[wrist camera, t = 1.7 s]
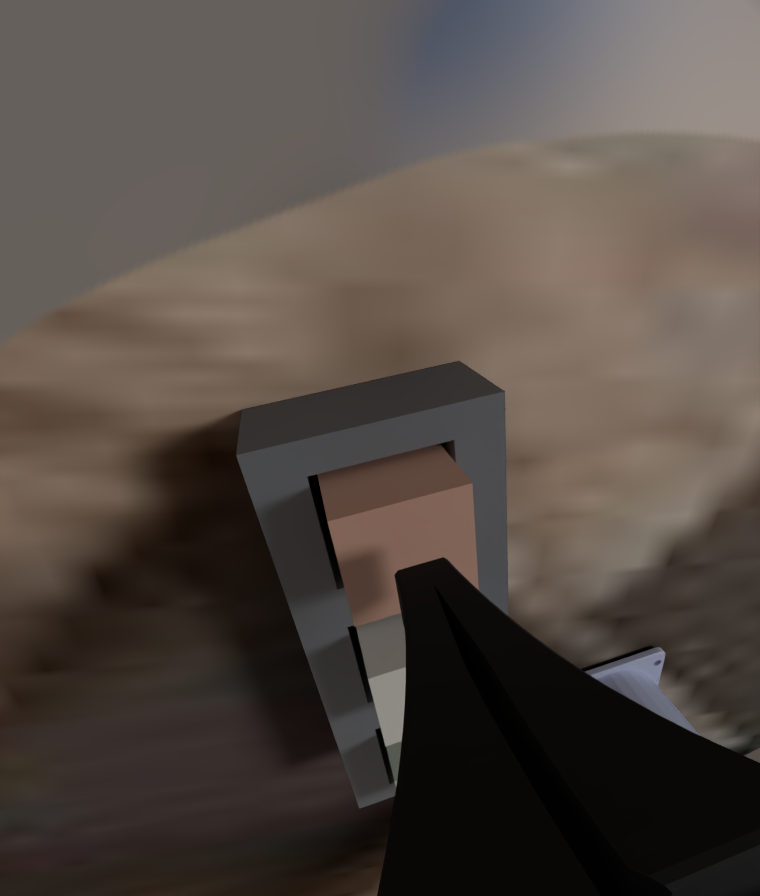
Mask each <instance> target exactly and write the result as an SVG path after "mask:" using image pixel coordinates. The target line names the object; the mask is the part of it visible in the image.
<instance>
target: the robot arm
mask: <svg viewBox="0 0 760 896" xmlns="http://www.w3.org/2000/svg"><path fill="white" fill-rule="evenodd" d="M394 576H395V582H396V587H397V593H398V598H399V604H400V609H401V615H402V620H403V625H404V628H405V642H406V685H405V706H404V721H403V733H402V743H401V753H400V762H399V770H398V778H397V785H396V792H395V798H394V805H393V811H392V818H391V825H390V831H389V837H388V843H387V848H386V854H385V859H384V864H383V869H382V874H381V879H380V884H379V889H378V894H377V896H760V763H759V762H756V761H754V760H752V759H749V758H747V757H745V756H743V755H741V754H739V753H736V752H734V751H732V750H730V749H728V748H725V747H723V746H721V745H719V744H716V743H714V742H712V741H710V740H708V739H706V738H704V737H702V736H700V735H699V734H698V733H697V731H696V730H695V729H694V728H693V727H692V726H691V724H690V723H689V722H688V721H687V720H686V719H685V718H684V716H683V715H682V714H681V713H680V712H679V711H678V709H677V708H676V707H675V706H674V705H673V704H672V702H671V701H670V700H669V699H668V698H667V697H666V695H665V694H664V693H663V692H662V691H661V690H660V688H659V687H658V683H659V679H660V675H661V671H662V667H663V663H664V658H665V652H664V651H663V650H662V649H661V648H659V647H656V648H653V649H650V650H647V651H644V652H641V653H638V654H635V655H632V656H629V657H626V658H623V659H620V660H617V661H614V662H611V663H608V664H605V665H603V666H600V667H597V668H594V669H591V670H588V671H585V672H584V671H583V670H581V669H579V668H578V667H577V666H575V665H574V664H572V663H571V662H569V661H568V660H566V659H565V658H563V657H562V656H560V655H559V654H557V653H556V652H554V651H553V650H552V649H550V648H549V647H547V646H546V645H545V644H543V643H542V642H541V641H539V640H538V639H537V638H535V637H534V636H533V635H531V634H530V633H529V632H527V631H526V630H525V629H524V628H522V627H521V626H520V625H519V624H517V623H516V622H515V621H514V620H512V619H511V618H510V617H509V616H508V615H506V614H505V613H504V612H503V611H502V610H500V609H499V608H498V607H497V606H496V605H495V604H493V603H492V602H491V601H490V600H489V599H488V598H487V597H485V596H484V595H483V594H482V593H481V592H480V591H479V590H478V589H477V588H476V587H475V586H474V585H473V584H471V583H470V582H469V581H468V580H467V579H466V578H465V577H464V576H463V575H462V574H461V573H460V572H459V571H458V570H457V569H456V568H455V567H454V566H453V565H452V564H451V562H450V561H449V560H448V559H446V558H444V557H442V558H439V559H435V560H432V561H428V562H425V563H421V564H418V565H414V566H411V567H408V568H404V569H401V570H398V571H397V572H396V573H395V575H394Z"/></svg>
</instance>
